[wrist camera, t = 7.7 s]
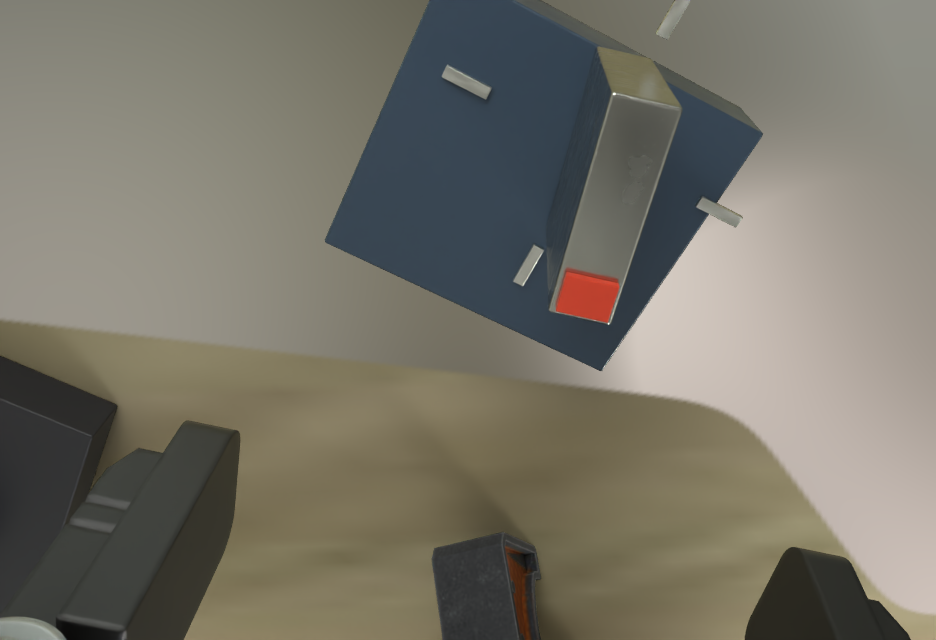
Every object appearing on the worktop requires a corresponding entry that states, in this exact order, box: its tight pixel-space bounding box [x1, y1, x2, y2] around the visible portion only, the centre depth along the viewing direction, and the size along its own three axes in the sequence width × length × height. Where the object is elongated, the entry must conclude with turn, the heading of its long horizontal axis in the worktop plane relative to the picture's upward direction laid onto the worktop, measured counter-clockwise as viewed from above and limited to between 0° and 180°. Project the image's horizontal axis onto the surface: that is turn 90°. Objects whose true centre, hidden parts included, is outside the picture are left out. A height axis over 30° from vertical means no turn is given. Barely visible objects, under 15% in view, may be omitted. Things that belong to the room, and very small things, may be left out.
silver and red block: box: [546, 47, 682, 325], centre depth 21 cm, size 6×2×6 cm, turn 168°
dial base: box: [325, 0, 763, 371], centre depth 25 cm, size 11×11×3 cm
